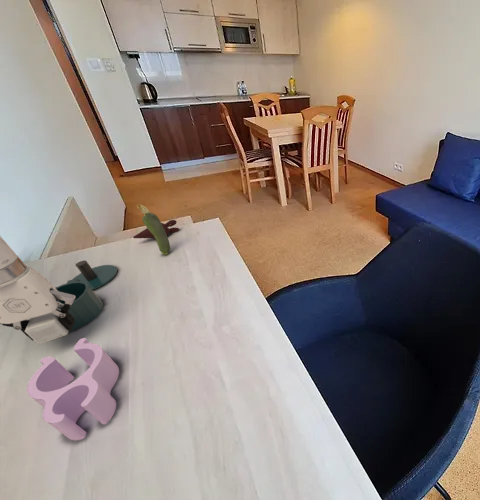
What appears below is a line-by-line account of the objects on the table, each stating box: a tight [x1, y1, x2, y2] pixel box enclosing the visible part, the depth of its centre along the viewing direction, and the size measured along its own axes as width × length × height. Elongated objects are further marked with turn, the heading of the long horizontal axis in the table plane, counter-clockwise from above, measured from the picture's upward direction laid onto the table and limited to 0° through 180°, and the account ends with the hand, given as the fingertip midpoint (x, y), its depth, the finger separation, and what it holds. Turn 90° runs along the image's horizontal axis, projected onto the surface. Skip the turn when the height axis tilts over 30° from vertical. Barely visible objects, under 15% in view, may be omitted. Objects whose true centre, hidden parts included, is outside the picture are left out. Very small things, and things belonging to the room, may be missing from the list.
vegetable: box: [136, 204, 171, 256], centre depth 100 cm, size 4×4×20 cm
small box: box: [25, 308, 69, 345], centre depth 70 cm, size 6×6×5 cm
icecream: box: [133, 219, 180, 239], centre depth 114 cm, size 7×7×15 cm
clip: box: [26, 337, 120, 441], centre depth 61 cm, size 20×12×7 cm, turn 43°
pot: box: [55, 278, 104, 333], centre depth 81 cm, size 12×18×8 cm
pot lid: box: [72, 259, 118, 291], centre depth 95 cm, size 13×13×7 cm
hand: (54, 330), depth 72 cm, fingers closed on small box, 6 cm apart
